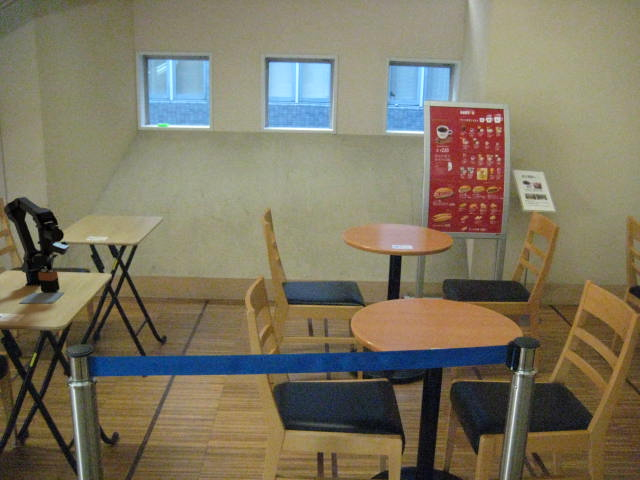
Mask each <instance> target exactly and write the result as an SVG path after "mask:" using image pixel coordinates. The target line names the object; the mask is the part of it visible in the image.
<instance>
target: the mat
mask: <svg viewBox="0 0 640 480" xmlns="http://www.w3.org/2000/svg"><path fill="white" fill-rule="evenodd" d="M64 294H65V292H54V293H51V292H31V293H30V294H29V295H28V296H26V297H25V298H23V299H22V300H20V302H19V305H20V304H22V305H23V304H54V303H55V302H56V301H57V300H59V299H60V298H61V297H62V296H64Z"/></svg>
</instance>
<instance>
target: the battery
mask: <svg viewBox="0 0 640 480" xmlns="http://www.w3.org/2000/svg"><path fill="white" fill-rule="evenodd" d="M38 275H39V281H40V285H39V286H40V287H39V288H40V291H41V292H40V293H57V292H58V291H59V290H60V282H59V276H58V270H54V269H52V270H48V269H47V268H45V269H42V271H41V272H39V273H38Z"/></svg>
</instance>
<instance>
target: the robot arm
mask: <svg viewBox="0 0 640 480" xmlns="http://www.w3.org/2000/svg"><path fill="white" fill-rule="evenodd" d="M3 212H4V214H5V215H6V217H7V220H9V221H11V222H12V224H14V227H15V230H16V233H17V234H18V235H17V236H18V239H19V241H20V244H21V246H22V249H23V252H24V254H23V257H22V260H23V263H22V265H21V267H20V269H21V271H22V273H24V274H25V277H26V283H25V286H40V281H39V275H38V273H39V272H41V271H42V269H47V270H53V267H54V262H55V259H56V258H57V257H58V255H60V256H64V255H65V254H67V253H68V249H69V248H70V246H69V244H68V241H66V240H63V239H64V237H65V233H64V232H63V230H62V229H60V227H59V222H58V220H57V219H58V218H56V216H55V215H54V212H53V211H52V210H51V209H49V208H47V207H41V206H39V205H37V204H35V203H34V202H32V201H31V200H30V199H29V198H28V197H27V196H22V197H21V196H20V197H16V198H14V199H13V200H12V201H10V202H9V203H6V204H5V205H4V208H3ZM27 214H29V215H30V216H31V218H32V221H33V222H34V223H35V228H37V234H38V241H37V245H39V250H38V249H37V248H36V245H35V243H34V240H33V237H32V235H31V232H30V228H29V227H28V225H27V221H26V217H27ZM62 240H63V241H62ZM61 241H62V242H61Z"/></svg>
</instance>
